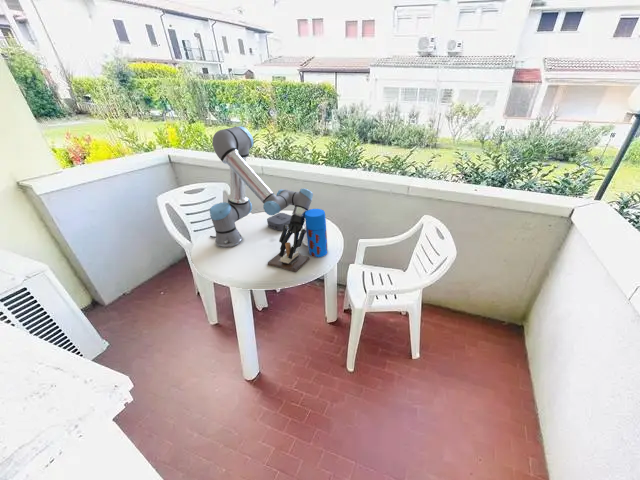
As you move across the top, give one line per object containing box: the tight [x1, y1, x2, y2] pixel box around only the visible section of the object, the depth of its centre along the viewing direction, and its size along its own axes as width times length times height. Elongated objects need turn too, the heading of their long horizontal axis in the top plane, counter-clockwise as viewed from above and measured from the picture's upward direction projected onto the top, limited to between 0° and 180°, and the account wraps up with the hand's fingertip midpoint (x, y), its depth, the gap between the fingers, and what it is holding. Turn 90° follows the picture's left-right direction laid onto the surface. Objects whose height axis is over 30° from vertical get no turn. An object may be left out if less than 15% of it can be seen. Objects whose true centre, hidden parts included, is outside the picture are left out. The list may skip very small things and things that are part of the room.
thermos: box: [304, 208, 328, 258], centre depth 157 cm, size 11×11×25 cm
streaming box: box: [266, 212, 292, 232], centre depth 192 cm, size 14×14×5 cm
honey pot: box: [302, 222, 308, 247], centre depth 169 cm, size 13×13×18 cm
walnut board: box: [267, 250, 310, 273], centre depth 155 cm, size 18×14×2 cm
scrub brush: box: [280, 241, 300, 265], centre depth 152 cm, size 10×5×10 cm, turn 156°
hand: (285, 257), depth 150 cm, fingers closed on scrub brush, 5 cm apart
